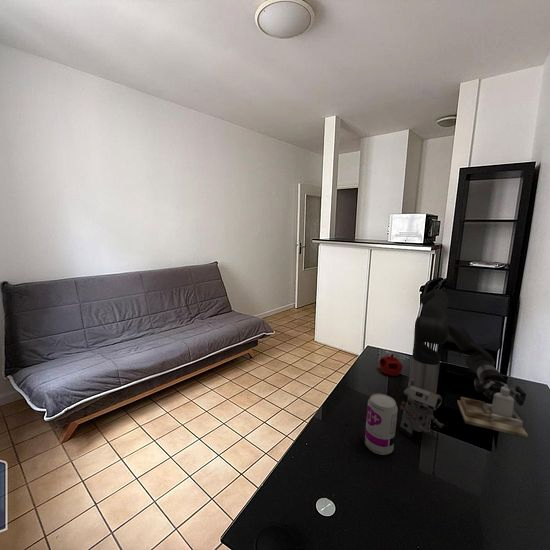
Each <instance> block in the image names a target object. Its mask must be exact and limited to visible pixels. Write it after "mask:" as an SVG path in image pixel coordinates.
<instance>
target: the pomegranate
mask: <svg viewBox="0 0 550 550" xmlns="http://www.w3.org/2000/svg"><path fill="white" fill-rule="evenodd" d="M378 362H379V364H378V365H379V369H380V371H381V372H382V373H383V374H385V375H387V376H390V377H396V376H397V377H398V376H399V375H400V374H401V373H402V370H403V368H404V366H403V364H402V362H401V361H400V359H398V357H397V356H395V354H394V353H391V354H390V355H387V354H386V355H385V356H381V358H380V359H379V361H378Z"/></svg>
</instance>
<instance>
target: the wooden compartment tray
mask: <svg viewBox="0 0 550 550" xmlns="http://www.w3.org/2000/svg"><path fill="white" fill-rule="evenodd" d="M456 403H457V406H458V408H459V412H460V413H461V417H462V419H463V422H464V423H465V424H467V425H471V426H476V427H480V428H484V429H489V430H492V431H493V430H494V431H497V432H501V433H505V434H510V435H515V436H518V437H523V438H527V439H528V436H529V435H528V433H527V432H526V430H525V428H523V422H524V421H523V420H522V418H521V417H520V415H519V414H518V412H517V411H516V410H515V409H514V408H513V414H512V418H510V417H505V416H501V415H496V414H491V408H492V403H487V402H485V401H483V400H478V399H473V398H469V397H464V396H460V400H458V399H457V402H456Z"/></svg>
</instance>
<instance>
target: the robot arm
mask: <svg viewBox="0 0 550 550" xmlns="http://www.w3.org/2000/svg"><path fill="white" fill-rule="evenodd" d="M419 299H420V303H421V305H422V306H423V307H422V312H421V315H420V316H417V317H416V319H415V323H414V332H413V333H414V334H413V345H412V346H413V348H412V354H411V364H410V372H409V374H408V385H407V388H408V387H409V386H410V385H412V386H415V387H418V388H420V389H423V390H426V391H429V392H432V393H436V394H437V388H438V382H439V373H440V366H441V355H440V353H439V352H438V351H437V350H435V349H433V348H431V347H430V346H428V345H427V344H425V343H428V344H433V345H438V346H439V345H444V344H445V343H446V342H447V340H448V338H449V337H450V338H451V339H452V340H453V342H454V344H455V345H456V346H457V347H458V349H459V350H460V351H463V352H464V351H468V350H475V351H476V352H474V353H472V354H469V355H467V356H466V357H465V358H464V363H465V365H466V367H467V368H468V369H470V371H472V372H473V373H476V375H477V378H474V383H473V386H474V388H475V391H476V392H477V393H481V392H482V394H483V395H484V396H485V397H486V398H487V399H488V400H493V394H495V393H500V391H501V387H504V385H505V384H506V385H507V386H508V389H510V393H509V396H511V397H512V398H513V399H514V401H515V402H516V403H517V404H518V406H521V407H522V406H523V405H524V404H525V401H526V397H527V393H526V392H525V391H524V390H523V389H522V388H521V387H520V386H518V385H515V386H514V387H511V385H509V384H507V383H508V382H507V381H506V379H505V378H504V377H503V375H502V374H501V372H500V371H499V370H498V369H497V368H496V367H495V365H494V363H495V361H494V360H495V359H494V357H493V355H491V353H489V351H486V350H485V349H484V348H483V347H481V346H480V345H479V344H478V343H477V342H476V341H475V339H473V337H472V335H470V334H469V332H468V330H467V329H466V328H464V326H462V325H460V324H458V323H456V322H454V321H452V320H449V319H448V306H449V303H450V302H449V301H450V300H449V298H448V295H447V294H446V292H445V291H444V290H443V289H440V288H434V289H431V290H430V291H429V292H427V293H425V294H423V295H421V297H420V298H419ZM406 397H407V401H408V400H411V398H410V397H409V395H406Z"/></svg>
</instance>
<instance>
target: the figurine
mask: <svg viewBox="0 0 550 550" xmlns="http://www.w3.org/2000/svg"><path fill="white" fill-rule="evenodd" d="M403 394H404V395H406V396H407V395H409V397H410V398H411V400H408V399H405V400H402V401H401V405H400V408H399V410H400V411H401V412H402V416H401V422H400V425H399V428H398V430H400V432H402V433H403V434H405V435H406V436H408V438H412V437H414V432H413V431H416V432H418V433H422V432H424V433H426V434H427V433H431V434H432V435H434V434H435V432H436V430H435V429H432V430H430V428H429V427H430V422H431V420H432V422H433V424H436V425H437V427H438V428H440V429H442V428H443V427H446V428H448V426H449V425H448V422H445V423H441V422H439V421H438V419H437V418H436V417H435V416H434V411H436V410H437V409H438V408H439V407H440V405H442V403H443V402H442V401H443V397H442V396H441V395H440V394H439V393H437V392H436V393H432V392H429V391H426V390H423V389H420V388H418V387H415V386H412V385H410V386H409V387H408V386H407V388H405V389H404V390H403Z"/></svg>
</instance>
